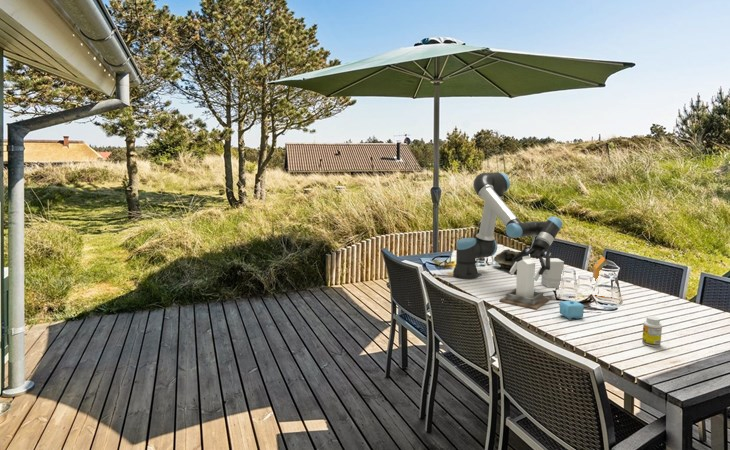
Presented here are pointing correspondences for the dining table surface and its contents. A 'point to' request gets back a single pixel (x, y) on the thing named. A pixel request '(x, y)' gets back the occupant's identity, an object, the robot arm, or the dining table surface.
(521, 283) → the milk
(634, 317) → the dining table surface
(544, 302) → the holder
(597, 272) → the orange juice
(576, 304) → the light blue block
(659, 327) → the supplement bottle
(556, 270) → the supplement box
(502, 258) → the hollow geode rock
